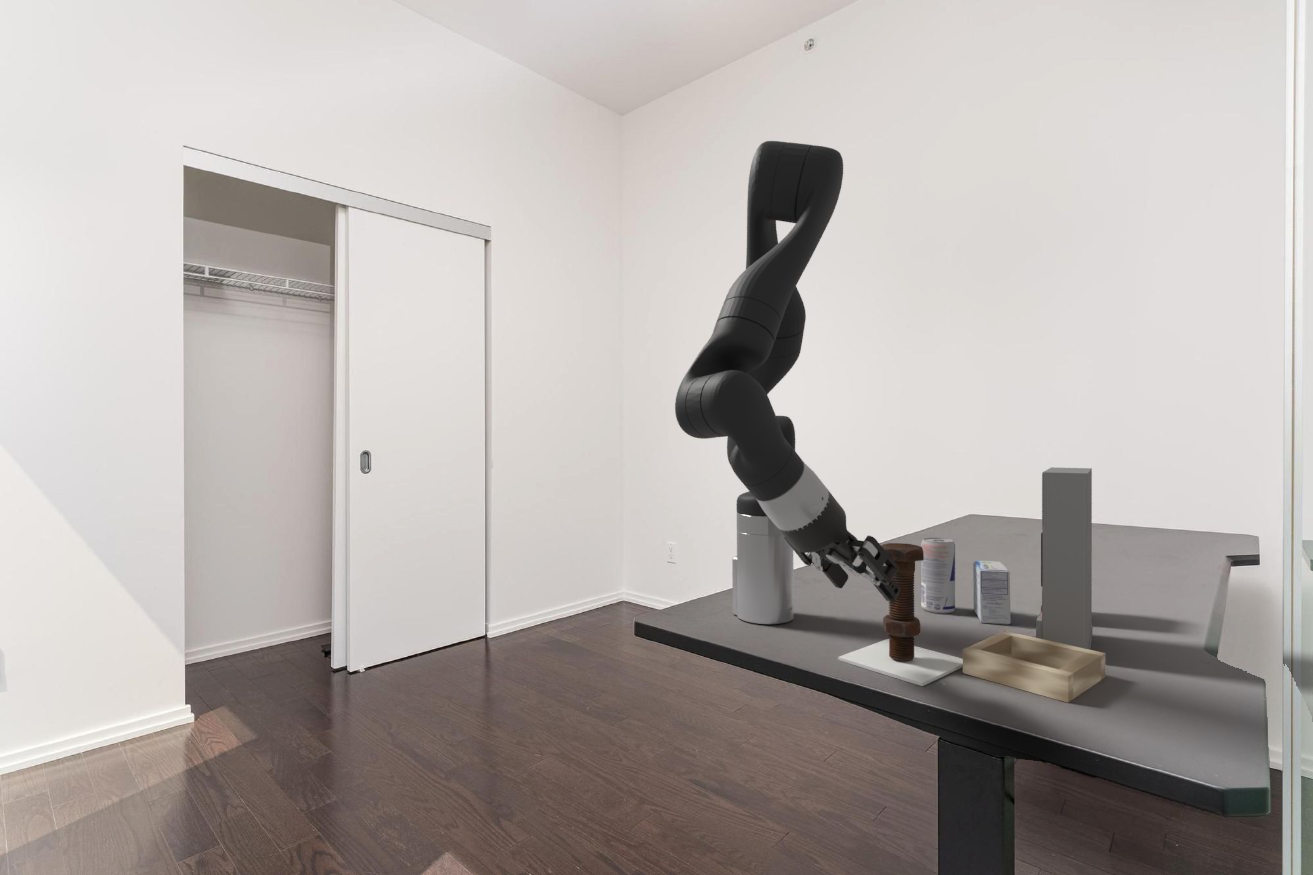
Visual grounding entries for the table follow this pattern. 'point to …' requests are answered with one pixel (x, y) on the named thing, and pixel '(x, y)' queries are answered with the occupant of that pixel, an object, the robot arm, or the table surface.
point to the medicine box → (991, 592)
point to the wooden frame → (1035, 665)
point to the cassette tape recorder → (1066, 557)
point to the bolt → (903, 602)
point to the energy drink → (938, 575)
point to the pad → (904, 663)
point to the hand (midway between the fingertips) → (867, 589)
